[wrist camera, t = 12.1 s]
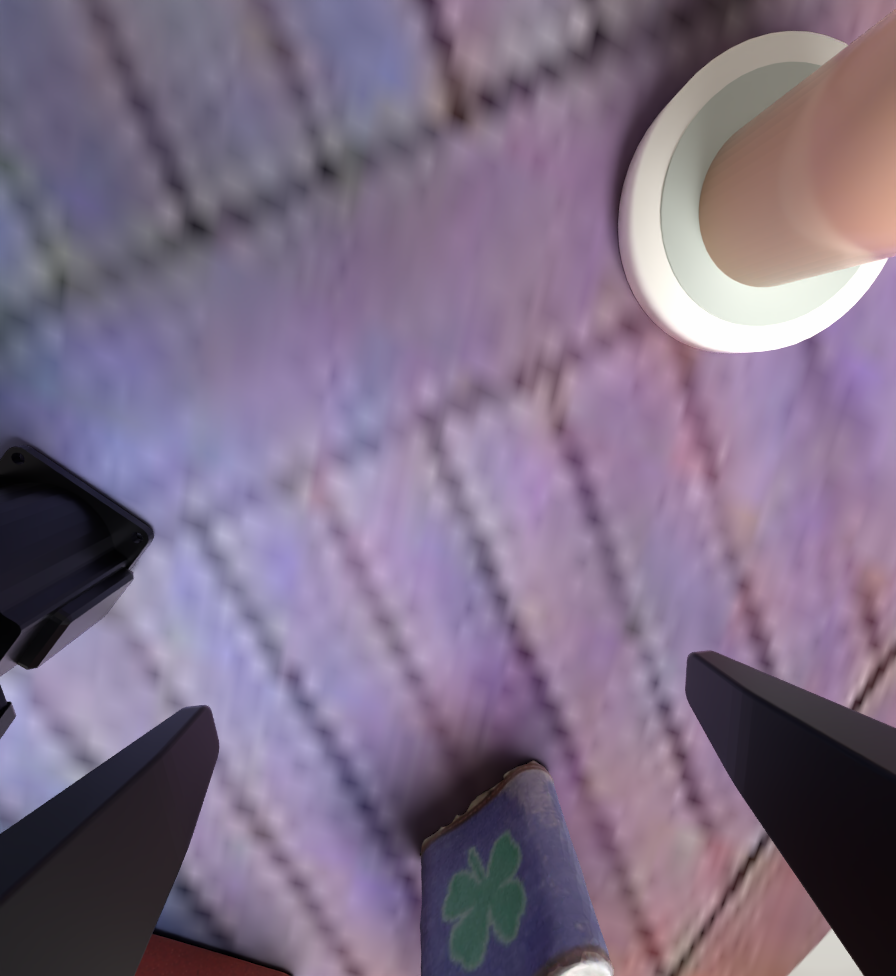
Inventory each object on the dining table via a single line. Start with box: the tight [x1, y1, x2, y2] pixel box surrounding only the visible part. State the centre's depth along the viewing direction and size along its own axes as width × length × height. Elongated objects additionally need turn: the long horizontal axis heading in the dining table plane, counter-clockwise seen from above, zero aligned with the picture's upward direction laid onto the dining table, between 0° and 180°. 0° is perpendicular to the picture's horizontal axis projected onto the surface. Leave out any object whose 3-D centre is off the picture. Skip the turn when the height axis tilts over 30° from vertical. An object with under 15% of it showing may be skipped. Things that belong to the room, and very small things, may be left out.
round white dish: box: [618, 31, 888, 353], centre depth 18 cm, size 11×11×2 cm
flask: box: [420, 761, 614, 976], centre depth 20 cm, size 9×3×11 cm, turn 133°
